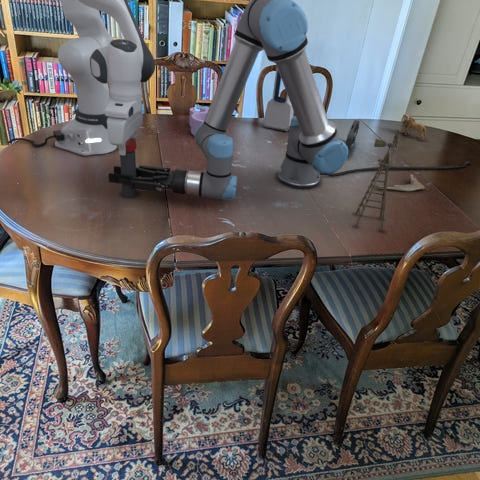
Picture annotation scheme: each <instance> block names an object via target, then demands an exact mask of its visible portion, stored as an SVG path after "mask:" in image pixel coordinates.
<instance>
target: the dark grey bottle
mask: <svg viewBox="0 0 480 480" xmlns="http://www.w3.org/2000/svg"><path fill="white" fill-rule="evenodd" d="M136 159H137V158H136V150H135V151H132V152H127V153H126V154H125V155H120V154H119V161H120V162H119V163H120V167H121V174H122V175H132V177H136V168H137V161H136ZM121 194H122V196H123V197H124V198H125V197H126V198H134V197H136V196H137V195H138V190H136V189H131V188H130V185H129V184H121Z"/></svg>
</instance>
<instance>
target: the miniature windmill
mask: <svg viewBox="0 0 480 480" xmlns="http://www.w3.org/2000/svg"><path fill="white" fill-rule="evenodd" d="M399 135H400V130H399V129H397V130H395V133H394V136H393V140H392V143H391V142H388V143H387V142H386V141H385V140H381V139H378V138H375V141H374V145H373V147H374V148H385V147H386V146H387V147H388V150H387V152H386V153H385V155H384V157H383V159H382V158H378V159H377V162H378V165H379V166H377V167H378V170H376V172H375V173H374V176H373V178H372V179H371V181H370V184H369V185H368V186H367V190H366V192H364V196H363V197H362V198H361V202H360V203H359V204H358V207H357V209H356V211H355V213H354V215H358V217H357V218H358V219H357V221H356V223H355V227H358V225H359V224H360V221H361V219H362V218H367V219H374V220H378V221H379V220H380V221H381V222H380V223H381V225H380V231H381V232H383V231H384V221H386V219H385V209H386V204H387V199H386V198H387V190H388V189H387V187H388V176H389V173H390V172H389V169H388V167H397V164H396V161H394V160H393V158H394V155H395V154H396V153H397V152H396V149H397V148H398V144H399V139H400V136H399ZM383 167H386V169H383ZM383 171H385V172H383ZM381 175H384V180H379V178H380V176H381ZM377 182H379V183H383V186H384V187H380V186H381V185H380V186H378V185H376V184H377ZM375 188H377V189H379V188H383V189H382V193H380V192H374V190H375ZM372 194H373V195H380V196H381V200H376V199H375V200H374V199H370V198H371V196H372ZM367 195H368V196H367ZM364 201H365V203H364ZM369 202H373V203H379V204H380V207H379V206H373V205H368V203H369ZM361 207H362V210H361ZM366 208H372V209H378V210H380V211H379V217H374V216H369V215H363V214H364V213H365V210H366Z"/></svg>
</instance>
